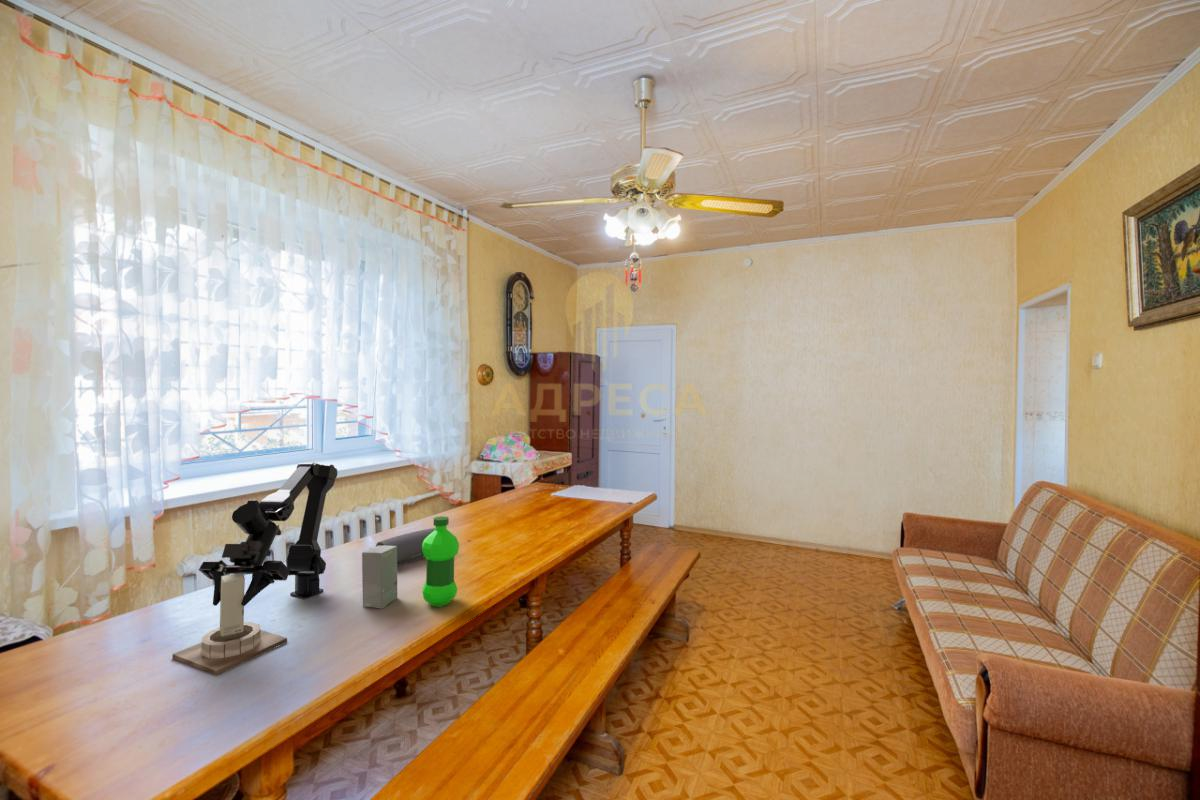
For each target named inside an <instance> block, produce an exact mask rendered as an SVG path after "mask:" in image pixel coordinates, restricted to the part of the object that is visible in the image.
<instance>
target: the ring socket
mask: <svg viewBox="0 0 1200 800" xmlns="http://www.w3.org/2000/svg"><path fill="white" fill-rule="evenodd" d="M285 642H286V643H288V637H285V636H281V635H280V634H275V633H272V632H269V631H266V630H263V629H261V625H260V623H256V622H252V621H249V622H248V621H247V622H245V621H244V626H243V632H241V633H236V634H232V635H228V636H221V634H220V626H219V627H217V628H215V629H211V630H210V631H208V632H207V633H206V634H204V635H203V636H202V637H201V642H199V643H197V644H196V643H195V644H194V645H191V646H189V647H186V648H184V649H181V650H179V651H176V652H174V653H172V659H173V660H176V661H178V662H181V663H183V664H186V665H189V666H191V667H194V668H196V669H199V670H202V671H204V672H207V673H209V674H212V675H214V676H218V675H219V674H222V673H224V672H226V671H229V670H231V669H233V668H235V667H237V666H239V665H241V664H243V662H244V663H245V662H248V661H249V660H252V659H254V658H257V657H258V656H261V655H263V654H264V652H265V653H266V652H269V651H270V649H271V650H273V649H275V648H277V647H279V646H278V645H280V646H282V645H284V644H286V643H285ZM283 643H284V644H283ZM281 644H282V645H281ZM276 646H277V647H276ZM274 647H275V648H274ZM262 653H263V654H262Z"/></svg>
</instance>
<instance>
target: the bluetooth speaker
mask: <svg viewBox="0 0 1200 800" xmlns="http://www.w3.org/2000/svg"><path fill="white" fill-rule="evenodd" d="M434 530H435V527H433V528H432V527H431V528H426V529H423V530H421V529H420V530H416V531H412V532H409V533H404V534H400V535H397V536H396V535H395V536H392V537H390V538H387V539H384V540H381V541H378V542H377V543H376V545H375V547H376V546H379V545H385V546H397V566H399V565H405V564H408V563H412V562H415V561H419V560H421V559H423V558H425V557H424V556H423V550H422V543H423V541H424V539H425V538H426V537H427V536H428V535H430V534H431V533H432V532H433V531H434Z"/></svg>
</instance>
